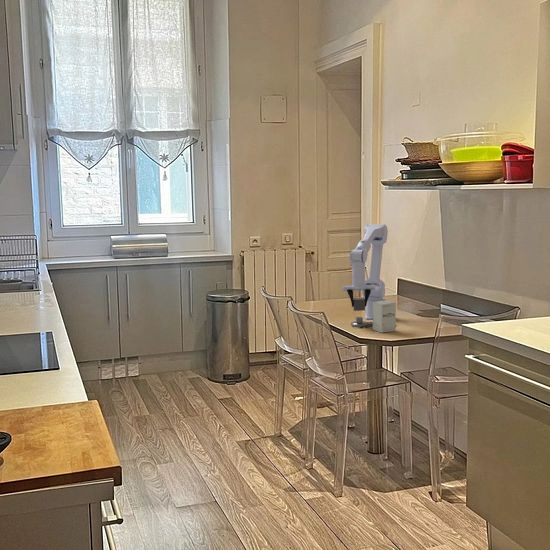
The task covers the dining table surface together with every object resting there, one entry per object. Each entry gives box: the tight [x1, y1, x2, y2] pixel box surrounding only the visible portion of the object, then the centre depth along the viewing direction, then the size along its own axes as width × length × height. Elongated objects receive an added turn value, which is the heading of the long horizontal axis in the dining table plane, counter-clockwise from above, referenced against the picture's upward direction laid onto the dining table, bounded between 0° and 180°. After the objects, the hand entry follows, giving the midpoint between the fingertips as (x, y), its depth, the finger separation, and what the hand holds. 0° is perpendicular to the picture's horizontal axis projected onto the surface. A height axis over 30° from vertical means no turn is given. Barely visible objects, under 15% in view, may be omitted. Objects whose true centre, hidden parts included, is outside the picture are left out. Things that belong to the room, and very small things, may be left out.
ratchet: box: [350, 316, 373, 328], centre depth 315 cm, size 19×8×4 cm, turn 87°
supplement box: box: [372, 299, 397, 333], centre depth 304 cm, size 7×7×13 cm
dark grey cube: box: [352, 297, 366, 312], centre depth 314 cm, size 5×5×5 cm
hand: (359, 306), depth 314 cm, fingers closed on dark grey cube, 5 cm apart
